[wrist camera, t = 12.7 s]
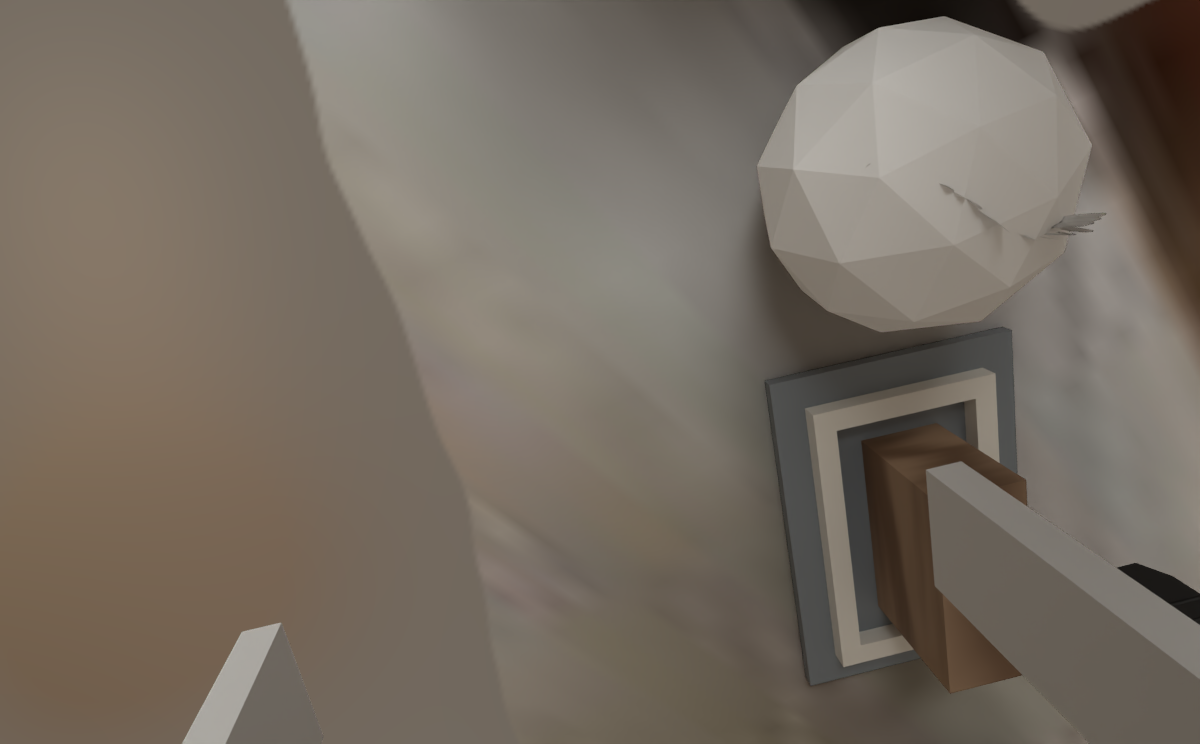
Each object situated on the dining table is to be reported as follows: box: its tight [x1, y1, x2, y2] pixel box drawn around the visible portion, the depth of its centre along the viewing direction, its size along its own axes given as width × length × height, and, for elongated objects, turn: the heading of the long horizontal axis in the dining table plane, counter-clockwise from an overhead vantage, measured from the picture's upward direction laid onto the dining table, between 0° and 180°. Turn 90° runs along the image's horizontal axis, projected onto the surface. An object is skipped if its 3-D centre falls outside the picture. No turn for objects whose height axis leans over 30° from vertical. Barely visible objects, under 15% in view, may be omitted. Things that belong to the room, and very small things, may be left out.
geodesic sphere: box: [757, 16, 1106, 332], centre depth 35 cm, size 14×14×14 cm
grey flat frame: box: [765, 327, 1017, 686], centre depth 46 cm, size 20×14×2 cm
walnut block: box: [861, 423, 1027, 693], centre depth 42 cm, size 4×11×8 cm, turn 11°
